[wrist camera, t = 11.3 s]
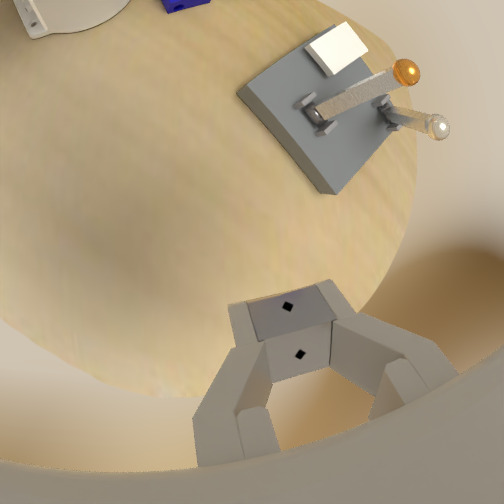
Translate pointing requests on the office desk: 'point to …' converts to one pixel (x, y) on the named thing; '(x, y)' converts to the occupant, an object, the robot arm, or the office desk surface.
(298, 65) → the panel
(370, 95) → the lever orange
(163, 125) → the office desk surface
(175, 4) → the cable clip
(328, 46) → the white rectangular block
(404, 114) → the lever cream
